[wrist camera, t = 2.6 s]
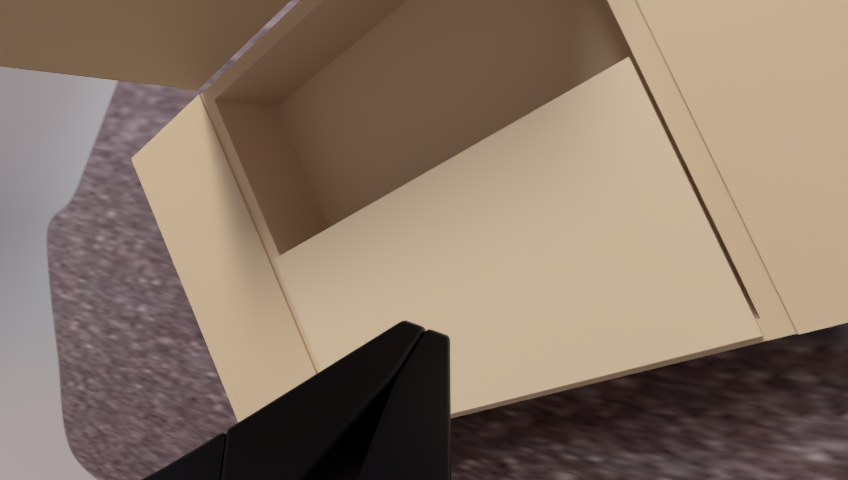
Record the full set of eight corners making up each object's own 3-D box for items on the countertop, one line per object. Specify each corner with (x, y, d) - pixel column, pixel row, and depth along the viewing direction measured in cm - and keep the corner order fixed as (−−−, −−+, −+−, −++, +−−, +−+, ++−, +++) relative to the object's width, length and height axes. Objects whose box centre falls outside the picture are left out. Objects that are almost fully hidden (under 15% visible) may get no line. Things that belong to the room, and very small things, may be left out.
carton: (1040, 218, 13) (1185, 247, 9) (315, 425, 27) (250, 471, 23) (764, -307, 14) (788, -482, 10) (203, 157, 28) (124, 158, 24)
